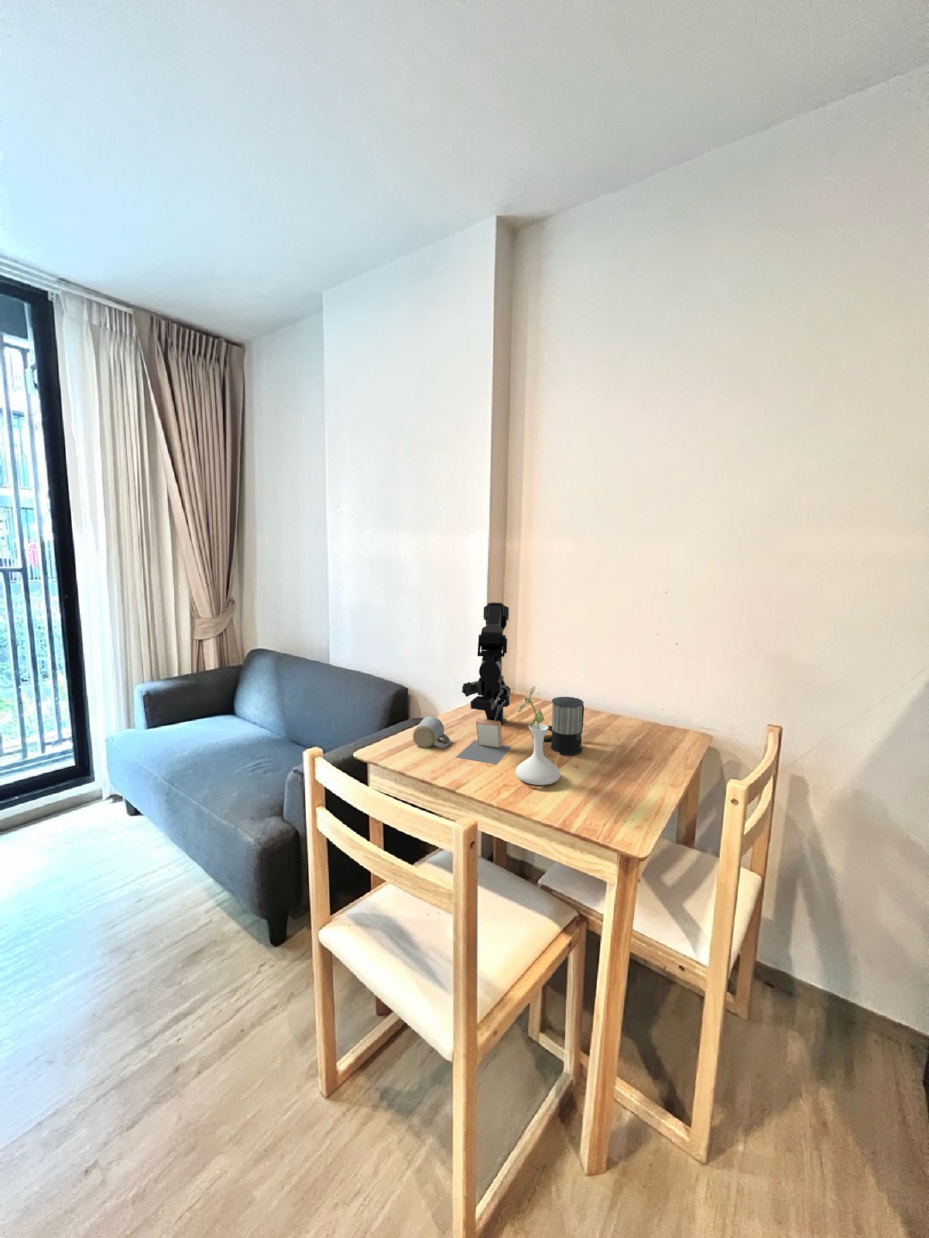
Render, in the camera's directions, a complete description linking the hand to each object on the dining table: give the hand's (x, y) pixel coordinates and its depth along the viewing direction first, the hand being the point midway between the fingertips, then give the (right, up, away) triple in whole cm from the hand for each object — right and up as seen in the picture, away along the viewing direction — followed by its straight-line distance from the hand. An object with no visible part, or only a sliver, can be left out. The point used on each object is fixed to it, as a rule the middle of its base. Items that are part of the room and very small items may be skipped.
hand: (491, 725), depth 145 cm
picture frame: (0, -6, +1) cm, 6 cm away
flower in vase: (+10, -10, -21) cm, 25 cm away
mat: (-2, -7, -4) cm, 8 cm away
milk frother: (+20, -7, +2) cm, 21 cm away
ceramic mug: (-17, -7, +3) cm, 19 cm away
